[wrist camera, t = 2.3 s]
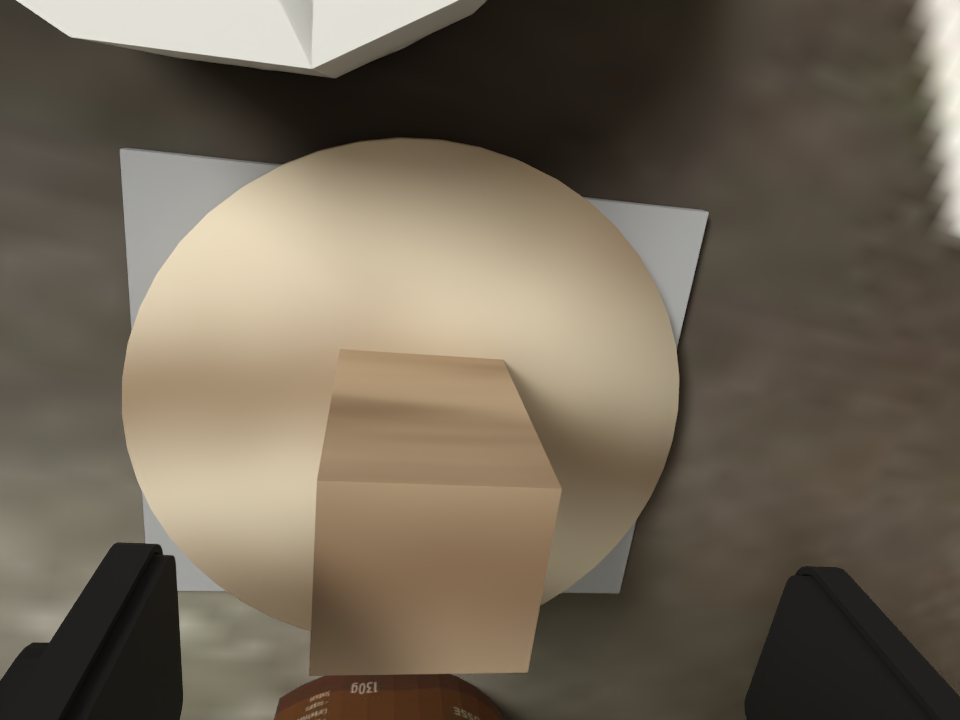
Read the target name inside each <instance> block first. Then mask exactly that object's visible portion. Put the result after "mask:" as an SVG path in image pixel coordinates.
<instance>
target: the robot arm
mask: <svg viewBox="0 0 960 720" xmlns="http://www.w3.org/2000/svg"><path fill="white" fill-rule="evenodd" d="M182 703H183V686H182V667H181V649H180V630H179V612H178V593H177V574H176V561H175V557H174V556H173V555H163V550H162V548H161V545H159V544H144V543H116V544H114V545H113V546H112V547H111V548H110V550H109V551H108V553H107V554H106V556H105V557H104V559H103V560H102V562H101V564H100V565H99V567H98V568H97V570H96V571H95V573H94V574H93V576H92V578H91V579H90V581H89V582H88V584H87V585H86V587H85V588H84V590H83V591H82V593H81V595H80V596H79V598H78V599H77V601H76V602H75V604H74V605H73V607H72V609H71V610H70V612H69V613H68V615H67V616H66V618H65V619H64V621H63V622H62V624H61V626H60V627H59V629H58V630H57V632H56V633H55V635H54V636H53V638H52V640H51V641H50V643H31V644H30V645H28V646H27V647H25V648H24V649H23V650H22V652H21V653H20V654H19V655H18V656H17V658H16V659H15V660H14V662H13V663H12V665H11V666H10V668H9V669H8V671H7V672H6V674H5V675H4V676H3V678H2V679H1V681H0V720H180V715H181V710H182ZM745 714H746V718H747V720H960V697H959V696H958V694H957V693H956V692H955V691H954V690H953V689H952V688H951V687H950V686H949V685H948V683H947V682H946V681H945V680H944V679H943V678H942V677H941V676H940V675H939V674H938V672H937V671H936V670H935V669H934V668H933V667H932V666H931V665H930V664H929V663H928V661H927V660H926V659H925V658H924V657H923V656H922V655H921V654H920V653H919V652H918V650H917V649H916V648H915V647H914V646H913V645H912V644H911V643H910V642H909V641H908V639H907V638H906V637H905V636H904V635H903V634H902V633H901V632H900V631H899V630H898V628H897V627H896V626H895V625H894V624H893V623H892V622H891V621H890V620H889V619H888V617H887V616H886V615H885V614H884V613H883V612H882V611H881V610H880V609H879V608H878V606H877V605H876V604H875V603H874V602H873V601H872V600H871V599H870V598H869V597H868V595H867V594H866V593H865V592H864V591H863V590H862V589H861V588H860V587H859V586H858V584H857V583H856V582H855V581H854V580H853V579H852V578H851V577H850V576H849V575H848V574H847V573H846V572H845V571H844V570H843V569H840V568H837V567H808V566H806V567H801V568H800V569H799V570H798V571H797V573H796V575H795V576H791V577H790V578H789V579H788V581H787V583H786V585H785V588H784V591H783V594H782V596H781V599H780V602H779V605H778V608H777V611H776V613H775V616H774V619H773V622H772V625H771V627H770V630H769V633H768V636H767V639H766V642H765V644H764V647H763V650H762V653H761V656H760V658H759V661H758V664H757V667H756V670H755V673H754V675H753V678H752V681H751V684H750V687H749V690H748V692H747V695H746V699H745Z"/></svg>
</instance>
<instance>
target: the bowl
mask: <svg viewBox="0 0 960 720" xmlns="http://www.w3.org/2000/svg"><path fill="white" fill-rule="evenodd" d="M16 1H18V2H19V3H21V4H22V5H24V6H25V7H27V8H28V9H30V10H31V11H33V12H34V13H36V14H37V15H38V16H40V17H41V18H43V19H44V20H46V21H47V22H49V23H50V24H52V25H53V26H55V27H56V28H58V29H59V30H60V31H62V32H63V33H65V34H66V35H68V36H69V37H73V38H78V39H83V40H88V41H93V42H98V43H103V44H109V45H114V46H119V47H124V48H129V49H134V50H139V51H144V52H150V53H155V54H160V55H165V56H170V57H175V58H183V59H190V60H198V61H206V62H213V63H221V64H229V65H236V66H244V67H252V68H257V69H262V70H273V71H282V72H290V73H298V74H305V75H313V76H321V77H328V78H337V77H339V76H341V75H343V74H346V73H348V72H350V71H352V70H354V69H356V68H358V67H361V66H363V65H365V64H367V63H369V62H371V61H374V60H376V59H379V58H382V57H384V56H387V55H389V54H392V53H395V52H397V51H400V50H402V49H404V48H406V47H408V46H410V45H411V44H413V43H415V42H417V41H419V40H420V39H422V38H424V37H426V36H428V35H429V34H431V33H433V32H435V31H438V30H440V29H442V28H444V27H446V26H448V25H450V24H453V23H455V22H457V21H459V20H461V19H463V18H465V17H468V16H470V15H472V14H473V13H474V12H475V11H476V10H477V9H478V8H479V7H481V6H482V5H483V4H484V3H485V2H486V1H487V0H16Z"/></svg>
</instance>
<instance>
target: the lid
mask: <svg viewBox="0 0 960 720" xmlns="http://www.w3.org/2000/svg"><path fill="white" fill-rule="evenodd" d="M678 401H679V369H678V360H677V350H676V344H675V340H674V336H673V332H672V328H671V324H670V319H669V315H668V313H667V310H666V308H665V305H664V303H663V300H662V298H661V296H660V293H659V291H658V288H657V286H656V283H655V282H654V280H653V278H652V277H651V275H650V273H649V272H648V270H647V268H646V266H645V265H644V263H643V261H642V260H641V258H640V256H639V255H638V253H637V252H636V251H635V249H634V248H633V247H632V246H631V245H630V243H629V242H628V241H627V240H626V238H625V237H624V236H623V235H622V233H621V232H620V231H619V230H618V228H617V227H616V226H615V225H614V224H613V223H612V222H611V221H610V220H608V219H607V218H606V217H605V216H604V215H603V214H602V213H601V212H600V211H599V210H598V209H597V208H596V207H594V206H593V205H592V204H591V203H590V202H589V201H588V200H586V199H585V198H583V197H582V196H580V195H579V194H578V193H576V192H575V191H573V190H572V189H570V188H569V187H567V186H566V185H565V184H563V183H562V182H560V181H559V180H557V179H555V178H553V177H551V176H549V175H547V174H545V173H543V172H541V171H539V170H537V169H535V168H533V167H531V166H529V165H527V164H525V163H523V162H521V161H519V160H517V159H515V158H512V157H509V156H506V155H503V154H500V153H497V152H494V151H491V150H488V149H485V148H482V147H479V146H474V145H469V144H464V143H459V142H453V141H448V140H443V139H431V138H410V137H395V138H383V139H372V140H360V141H356V142H352V143H347V144H343V145H339V146H334V147H330V148H326V149H321V150H319V151H316V152H313V153H311V154H308V155H306V156H303V157H300V158H298V159H295V160H292V161H290V162H287V163H285V164H283V165H281V166H279V167H277V168H275V169H274V170H272V171H270V172H268V173H266V174H265V175H263V176H261V177H259V178H257V179H255V180H254V181H252V182H250V183H248V184H247V185H245V186H244V187H242V188H240V189H239V190H238V191H237V192H235V193H234V194H233V195H231V196H230V197H229V198H227V199H226V200H225V201H223V202H222V203H221V204H219V205H218V206H217V207H215V208H214V209H213V210H211V211H210V212H209V213H208V214H207V215H206V216H205V217H204V218H203V219H202V220H201V221H200V222H199V223H198V224H197V225H196V226H195V227H194V228H193V229H192V230H191V231H190V232H189V233H188V234H187V235H186V236H185V237H184V238H183V239H182V240H181V241H180V242H179V244H178V245H177V247H176V248H175V249H174V251H173V252H172V253H171V255H170V256H169V258H168V259H167V260H166V262H165V263H164V265H163V266H162V267H161V269H160V270H159V271H158V273H157V274H156V276H155V278H154V280H153V282H152V284H151V286H150V288H149V290H148V292H147V294H146V296H145V298H144V300H143V302H142V304H141V306H140V308H139V311H138V314H137V317H136V320H135V323H134V326H133V329H132V332H131V335H130V338H129V341H128V346H127V352H126V358H125V364H124V371H123V377H122V417H123V423H124V430H125V437H126V443H127V449H128V452H129V455H130V459H131V462H132V465H133V468H134V471H135V475H136V478H137V481H138V483H139V485H140V487H141V489H142V491H143V493H144V495H145V498H146V500H147V502H148V504H149V506H150V508H151V510H152V512H153V513H154V515H155V516H156V518H157V519H158V521H159V522H160V524H161V525H162V527H163V528H164V530H165V531H166V533H167V534H168V536H169V537H170V539H171V540H172V541H173V542H174V543H175V544H176V545H177V546H178V548H179V549H180V550H181V551H182V552H183V553H184V554H185V556H186V557H187V558H188V559H189V560H190V561H191V562H192V563H193V564H194V565H195V566H196V567H197V568H198V569H200V570H201V571H202V572H203V573H204V574H205V575H206V576H208V577H209V578H210V579H211V580H212V581H213V582H214V583H216V584H217V585H218V586H220V587H221V588H223V589H224V590H226V591H227V592H229V593H230V594H232V595H233V596H235V597H236V598H238V599H239V600H240V601H242V602H244V603H245V604H247V605H249V606H251V607H253V608H255V609H257V610H259V611H261V612H263V613H265V614H267V615H269V616H271V617H273V618H275V619H278V620H281V621H283V622H286V623H289V624H291V625H294V626H296V627H299V628H302V629H305V630H309V631H311V643H310V668H309V676H328V675H398V674H468V673H528V668H529V663H530V657H531V652H532V647H533V641H534V636H535V630H536V625H537V620H538V614H539V609H540V605H542V604H544V603H546V602H547V601H549V600H551V599H552V598H554V597H555V596H557V595H558V594H560V593H561V592H563V591H565V590H566V589H568V588H569V587H571V586H572V585H573V584H575V583H576V582H577V581H578V580H580V579H581V578H582V577H583V576H585V575H586V574H587V573H588V572H590V571H591V570H592V569H593V568H595V567H596V566H597V565H598V564H599V563H600V562H601V561H602V560H603V559H604V558H605V557H606V556H607V555H608V554H609V553H610V552H611V551H612V550H613V549H614V548H615V547H616V545H617V544H618V543H619V542H620V540H621V539H622V538H623V537H624V535H625V534H626V533H627V532H628V530H629V529H630V528H631V527H632V525H633V524H634V523H635V521H636V520H637V518H638V516H639V515H640V513H641V512H642V510H643V508H644V507H645V505H646V504H647V502H648V500H649V499H650V497H651V495H652V493H653V491H654V489H655V486H656V484H657V482H658V480H659V478H660V476H661V473H662V471H663V469H664V466H665V463H666V460H667V457H668V453H669V450H670V447H671V444H672V441H673V436H674V430H675V424H676V419H677V413H678Z"/></svg>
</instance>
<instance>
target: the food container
mask: <svg viewBox="0 0 960 720" xmlns="http://www.w3.org/2000/svg"><path fill="white" fill-rule="evenodd" d="M274 720H503V718H502V716H501V714H500V712H499V710H498V708H497V707H496V706H495V705H494V704H493V702H492V701H491V700H490V699H489V698H488V697H487V696H486V695H485V694H483V693H482V692H481V691H480V690H478V689H477V688H476V687H475V686H473V685H471V684H469V683H468V682H466V681H464V680H462V679H460V678H458V677H456V676H453V675H450V674H398V675H328V676H323V677H320V678H318V679H316V680H313V681H311V682H309V683H306V684H304V685H302V686H300V687H298V688H296V689H295V690H293V691H291V692H290V693H288V694H286V695H285V696H283V697H281V698H280V699H279V703H278V706H277V710H276V713H275V717H274Z"/></svg>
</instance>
